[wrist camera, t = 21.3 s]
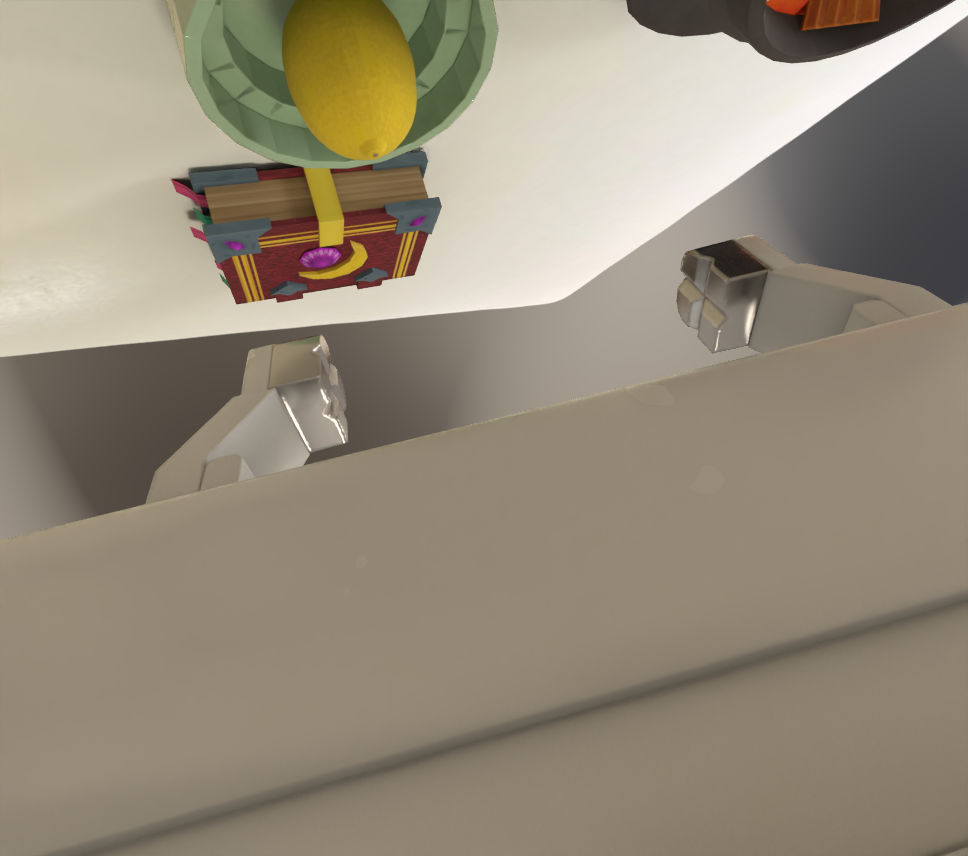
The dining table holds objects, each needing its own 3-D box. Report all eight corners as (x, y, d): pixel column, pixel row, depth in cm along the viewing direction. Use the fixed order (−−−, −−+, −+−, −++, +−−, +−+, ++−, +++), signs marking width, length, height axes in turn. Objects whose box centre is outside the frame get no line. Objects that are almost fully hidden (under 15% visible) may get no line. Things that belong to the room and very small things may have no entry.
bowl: (486, -221, 19) (524, -109, 18) (455, 74, 32) (477, 144, 31) (78, -190, 17) (111, -62, 16) (224, 113, 30) (244, 188, 29)
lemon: (406, 11, 26) (453, 162, 25) (307, 62, 27) (349, 207, 27) (352, -101, 21) (409, 87, 20) (232, -31, 22) (282, 148, 21)
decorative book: (402, 231, 48) (417, 283, 48) (206, 258, 43) (221, 316, 43) (424, 146, 37) (444, 212, 37) (166, 168, 32) (185, 246, 32)
